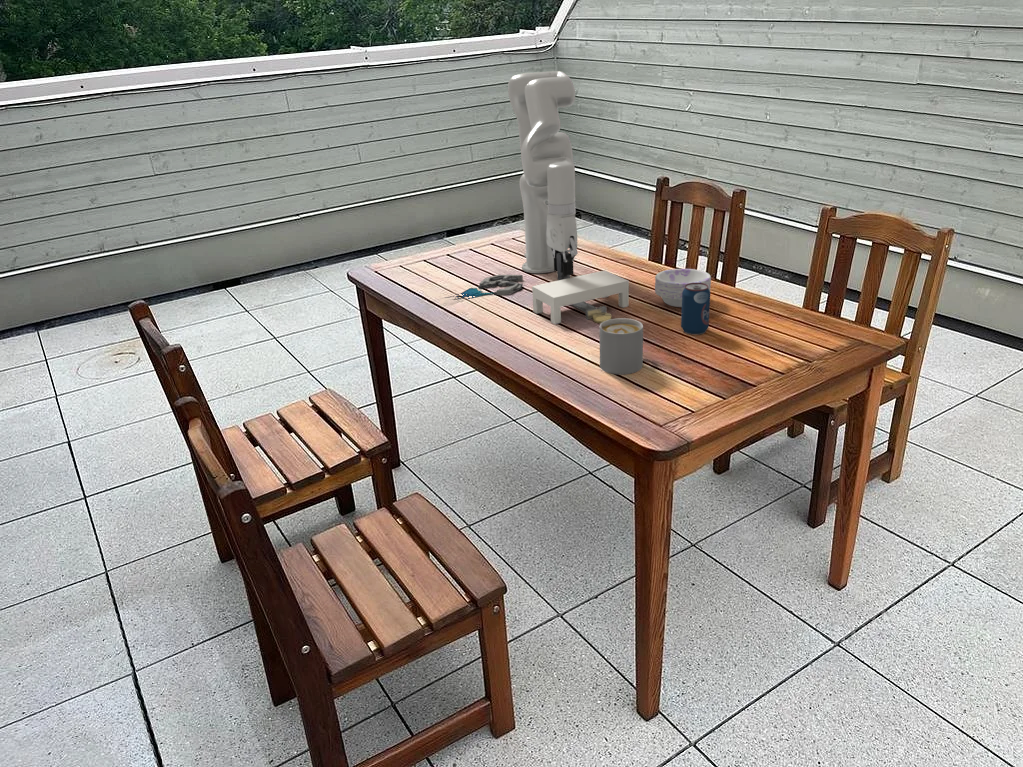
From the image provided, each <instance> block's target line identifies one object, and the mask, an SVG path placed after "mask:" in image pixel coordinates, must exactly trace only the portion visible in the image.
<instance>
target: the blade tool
mask: <svg viewBox="0 0 1023 767" xmlns="http://www.w3.org/2000/svg"><path fill="white" fill-rule="evenodd" d="M568 254H570V252H568V253H567V255H568ZM556 255H557V271H556V277H557V278H556V279H557V280H556V281H558V280H563V279H568V278H571V274H570V275H566V276H564V275H563V263H562V262H564V258H563V252H561V253H556ZM570 306H573V307H574V308H577V309H578V310H580V311H582V312H584V313H585V319H586V320H593V315H594V314H596V313H600V312H605V313H608V312H607V306H606V305H602V306H599V307H596V306H594V305H593V304H591V303H588V302H587V301H584V302H579V303H575V304H571V305H570Z"/></svg>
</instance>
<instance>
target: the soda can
mask: <svg viewBox="0 0 1023 767" xmlns="http://www.w3.org/2000/svg"><path fill="white" fill-rule="evenodd" d="M710 307H711V290H710V291H709V289H708V285H707V284H704V283H689V284H686V285H685V288H684V290H683V292H682V307H681V316H680V317H681V318H680V327H681V329H682V332H684V333H685V334H688V335H694V336H697V335H698V336H699V335H703V334H705V333H706V332H707V331H708V329H709V325H710V309H711V308H710Z"/></svg>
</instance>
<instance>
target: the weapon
mask: <svg viewBox="0 0 1023 767" xmlns="http://www.w3.org/2000/svg"><path fill="white" fill-rule="evenodd" d="M522 281H523V274H496V275H492V276H489V277H486V278H485V277H484V278H483V280H481V281H480V282H479V285H478V287H470V288H468V289H466V290H464V291H463V292H461V293H458V294H457V295H459V294H462V295H463V294H464V295H463V296H462V298H464V297H469V296H472V298H471V299H474V297H473V296H475V298H478V297H481V296H486V295H497V296H503V295H511V294H513V293H515V292H517V291H520V290H522V287H523V286H524V283H521V282H522ZM497 286H499V287H505V286H507V287H505V288H499V289H497V290H496V291H494V292H483V291H482V289H488V288H494V287H497ZM480 289H481V290H480ZM466 294H467V295H466ZM457 297H458V296H457ZM459 300H461V298H459ZM467 300H470V298H468V299H467Z"/></svg>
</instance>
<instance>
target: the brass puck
mask: <svg viewBox="0 0 1023 767" xmlns="http://www.w3.org/2000/svg"><path fill="white" fill-rule="evenodd" d="M612 316H613V315H612V314H611V313H609V312H607V313H605V312H600V313H596V314H594V315H593V319H592V322H593V323H596V324H599V325H600V324H601V323H602V322H604V321H607V320H610V319H613V318H612Z"/></svg>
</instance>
